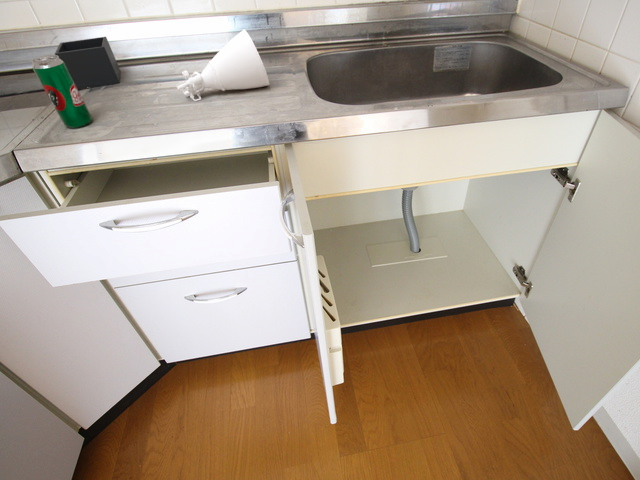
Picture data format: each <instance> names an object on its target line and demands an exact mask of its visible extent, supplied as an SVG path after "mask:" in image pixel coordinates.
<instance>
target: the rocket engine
mask: <svg viewBox="0 0 640 480" xmlns="http://www.w3.org/2000/svg"><path fill="white" fill-rule="evenodd" d="M253 41H254V40H253V39H252V37H251V36H250V34H249V33H248V30H246V29H242V30H241V31H240V32H238V33H237V34H236V35H235V36H233V37H232V38H231V39H230V40H229V41H228V42H226V44H225V45H223V47H222V48H221V49H219V51H218V52H217V53H216V54H215V55H214V56H213V58H211V60H208V63H207V65H205V67H204V68H203V69H202V71H201V73H200V72H198V71H193V73H192V74H191V75H190V73H189V72H188V70H187V69H185V70H184V71H182V72H181V73H182V75H183V78H184V80H183V79H182V81H181V82H177V84H176V88H177V90H178V91H179V92H181V91H182V93H183V94H184V96H185V97H186V98H188V97H190V99H192V101H193V102H197V101H198V102H199V101H201V100H202V97H201V93H203V92H204V91H205V90H207V89H208V90H209V89H211V90H218V91H219V90H221V91H223V92H225V91H226V90H230V91H231V90H247V89H248V90H249V89H257V88H262V87H268V86H270V80H269V76H268V73H267V71H266V67H265V64H264V63H263V61H262V57H261V56H260V53H259V52H258V49H257V47H256V45H255V43H254V42H253ZM194 95H196V96H197V97H198V98H197V99H195V96H194Z"/></svg>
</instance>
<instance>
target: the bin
mask: <svg viewBox="0 0 640 480" xmlns="http://www.w3.org/2000/svg"><path fill="white" fill-rule="evenodd" d="M54 55H57V56H59V58H60V59H61V60H62V61H63V62H64V63H65V65H66V67H67V69H68V71H69V73H70V75H71V77H72V79H73V81H74V83H75V85H76V87H77V89H81V88H87V87H90V88H89V89H93V88H99V87H104V86H110V85H117V84H120V83H121V69H120V67H119V64H118V62H117V59H116V56H115V54H114V52H113V50H112V47H111V45H110V43H109V40H108V38H107V36H101V37H94V38H86V39H79V40H70V41H62V42H59V44H58V46H57V48H56V50H55V52H54ZM87 89H88V88H87ZM81 90H82V89H81Z"/></svg>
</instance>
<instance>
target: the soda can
mask: <svg viewBox="0 0 640 480" xmlns="http://www.w3.org/2000/svg"><path fill="white" fill-rule="evenodd" d="M31 63H32V70H33V72H34V73H35V75H36V77H37V79H38V81H39V83H40V84H41V86H42V88H43V89H44V91H45V94H46V95H47V97H48V98H49V100H50V103H51V104H52V106H53V107H54V110H55V111H56V113H57V114H58V116H59V119H60V120H61V121H62V123H63V125H64V126H65V127H67V128H69V129H80V128H84V127H86V126H88V125H90V124H91V123H92V120H93V117H92V115H91V112H90V111H89V109H88V107H87V105H86V102H85V101H84V99H83V97H82V95H81V93H80V90H78V89H77V87H76V85H75V83H74V81H73V79H72V77H71V75H70V73H69V71H68V69H67V67H66V65H65V63H64V62H63V61H62V60H61V59H60V58H59V56H57V55H55V54H47V55H42V56H37V57H35V58H33V59H32V60H31Z"/></svg>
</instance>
